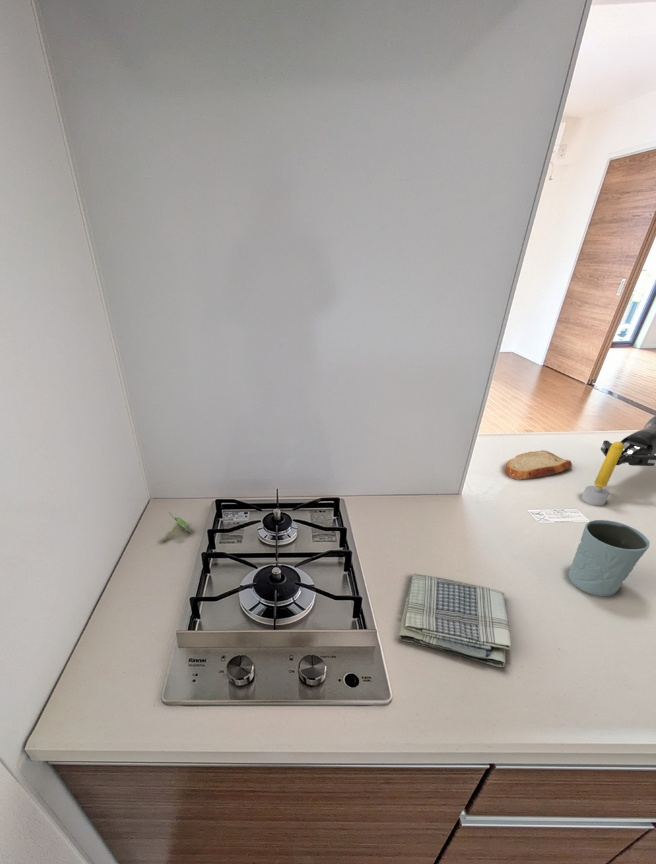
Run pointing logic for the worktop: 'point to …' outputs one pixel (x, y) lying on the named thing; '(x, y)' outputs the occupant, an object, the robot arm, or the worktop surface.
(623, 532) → the blue-green plant pot
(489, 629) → the dish towel
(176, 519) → the green hummingbird figurine
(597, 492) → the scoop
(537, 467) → the bread slice
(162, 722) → the worktop surface
